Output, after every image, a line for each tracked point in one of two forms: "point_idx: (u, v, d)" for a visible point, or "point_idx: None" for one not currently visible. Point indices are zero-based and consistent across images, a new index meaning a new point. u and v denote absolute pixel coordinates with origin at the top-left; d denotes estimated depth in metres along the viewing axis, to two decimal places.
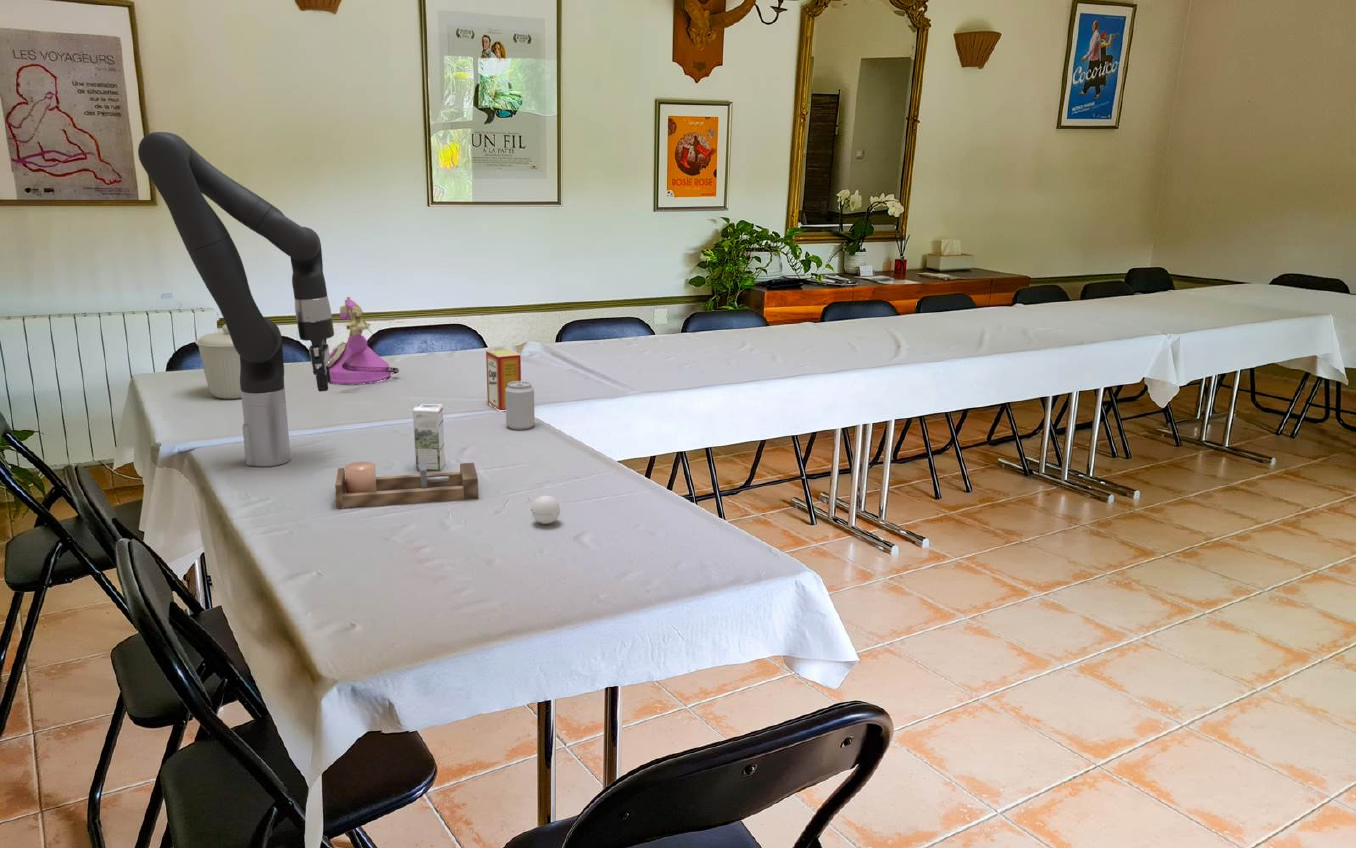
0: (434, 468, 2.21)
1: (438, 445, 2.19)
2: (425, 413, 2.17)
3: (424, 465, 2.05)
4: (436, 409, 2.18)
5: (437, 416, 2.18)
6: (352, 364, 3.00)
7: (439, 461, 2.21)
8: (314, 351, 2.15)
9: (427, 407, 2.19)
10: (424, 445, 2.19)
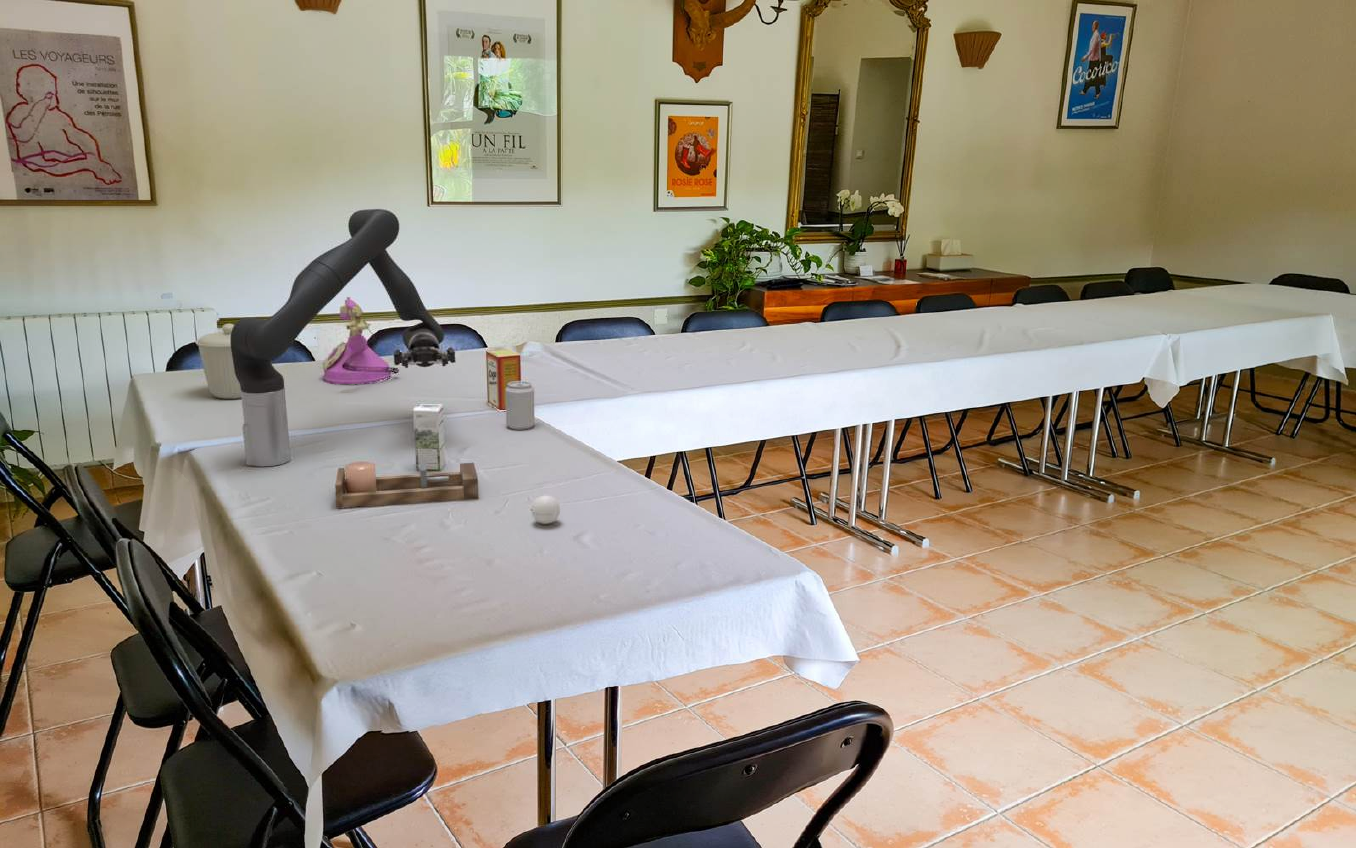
0: (434, 468, 2.21)
1: (438, 445, 2.19)
2: (425, 413, 2.17)
3: (424, 465, 2.05)
4: (436, 409, 2.18)
5: (437, 416, 2.18)
6: (352, 364, 3.00)
7: (439, 461, 2.21)
8: None
9: (427, 407, 2.19)
10: (424, 445, 2.19)
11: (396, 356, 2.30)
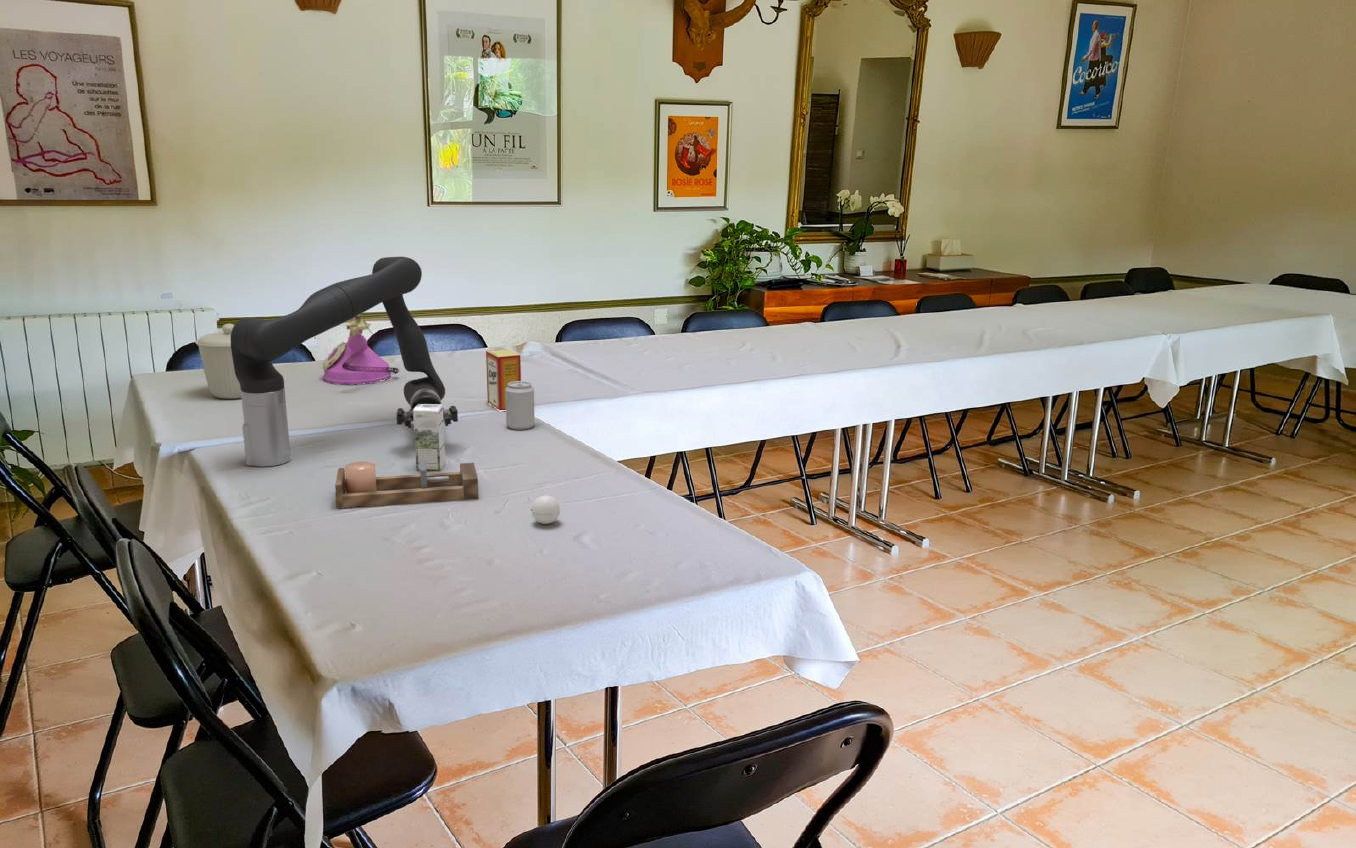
0: (434, 468, 2.21)
1: (438, 445, 2.19)
2: (425, 413, 2.17)
3: (424, 465, 2.05)
4: (436, 409, 2.18)
5: (437, 416, 2.18)
6: (352, 364, 3.00)
7: (439, 461, 2.21)
8: None
9: (427, 407, 2.19)
10: (424, 445, 2.19)
11: (399, 416, 2.30)
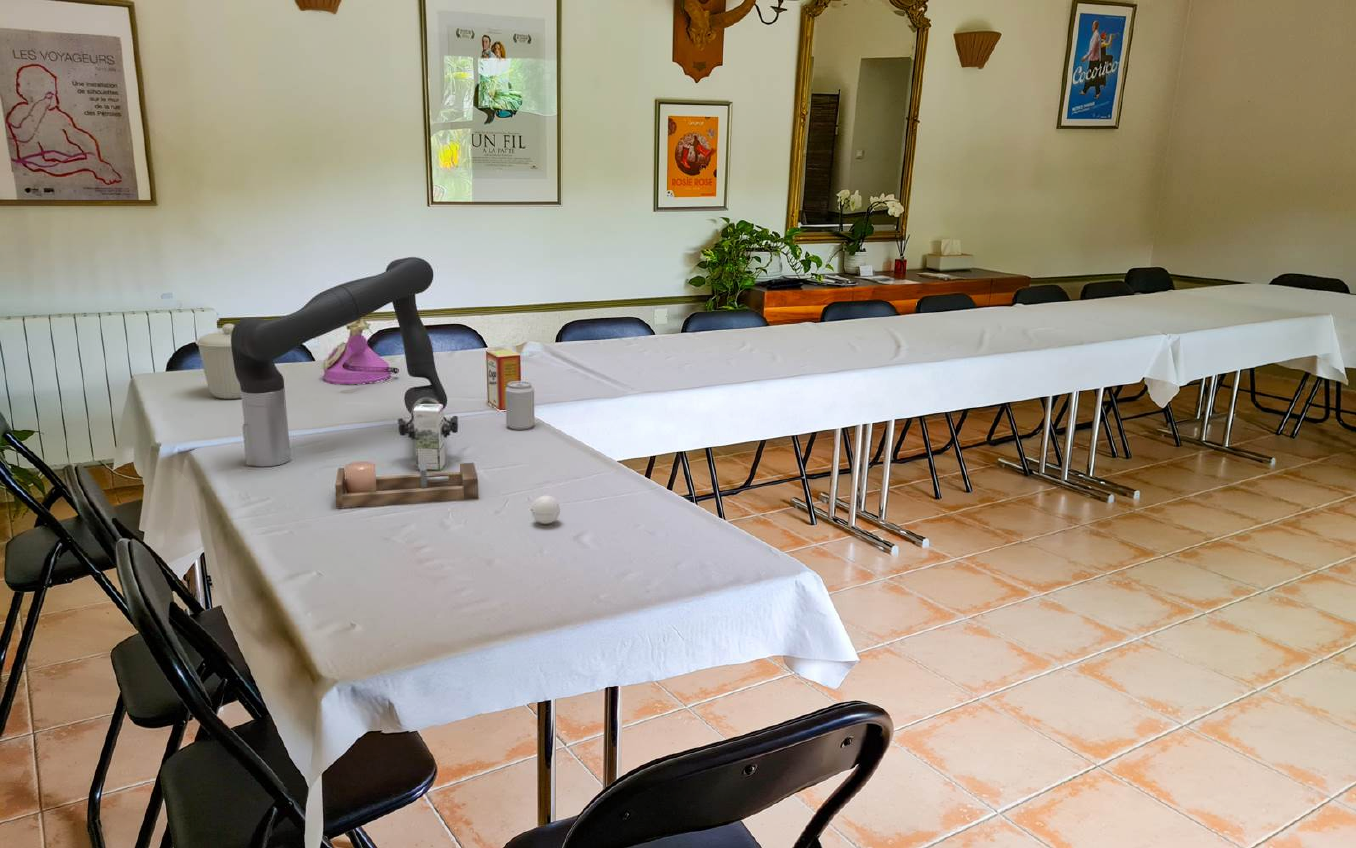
0: (434, 468, 2.21)
1: (438, 445, 2.19)
2: (426, 413, 2.17)
3: (424, 465, 2.05)
4: (436, 409, 2.18)
5: (437, 416, 2.18)
6: (352, 364, 3.00)
7: (439, 461, 2.21)
8: None
9: (427, 407, 2.19)
10: (424, 445, 2.19)
11: (402, 426, 2.22)
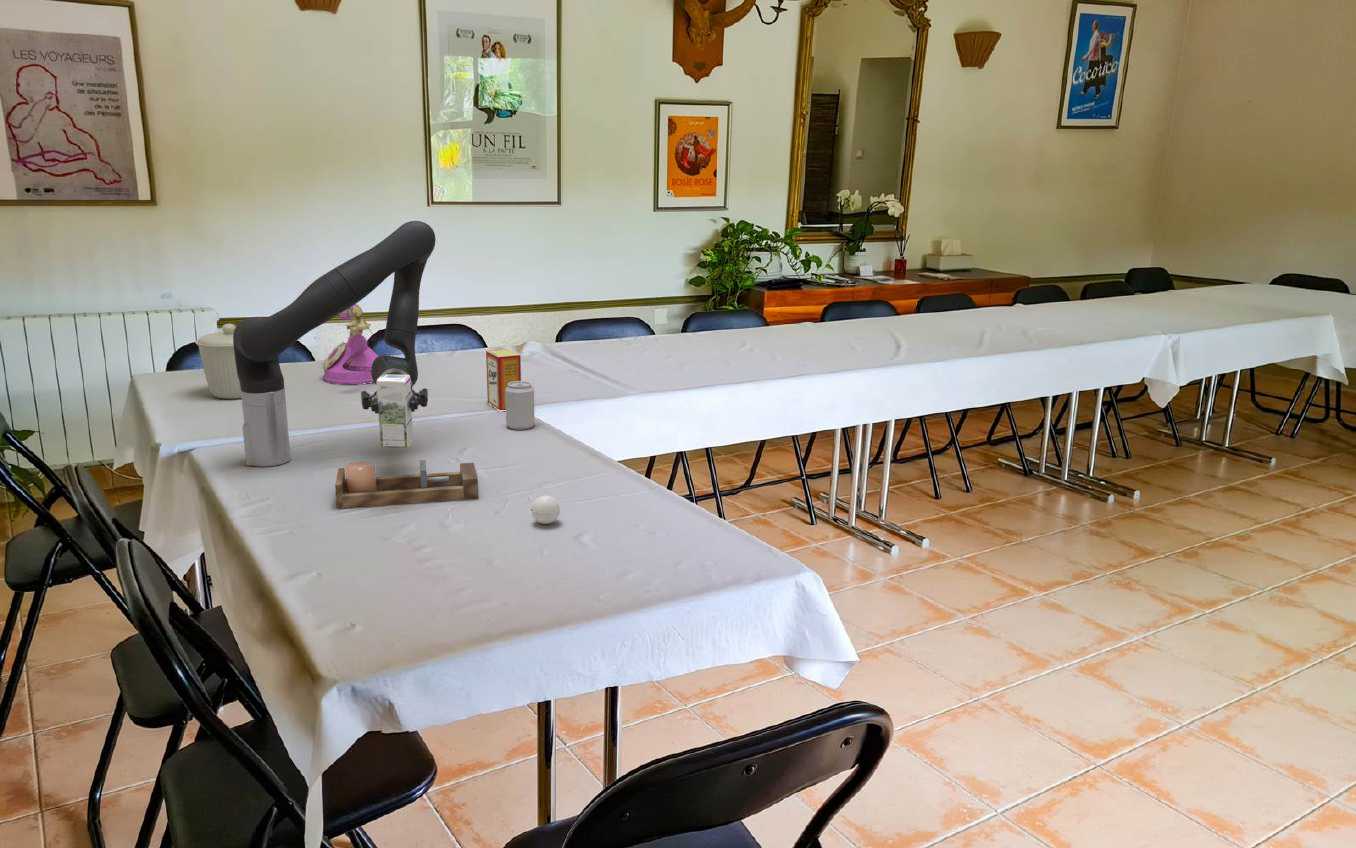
0: (400, 445, 2.00)
1: (405, 420, 1.98)
2: (390, 384, 1.96)
3: (424, 465, 2.05)
4: (402, 380, 1.97)
5: (403, 387, 1.96)
6: (352, 364, 2.99)
7: (406, 437, 1.99)
8: (427, 393, 2.08)
9: (392, 377, 1.98)
10: (389, 419, 1.98)
11: (365, 399, 2.00)
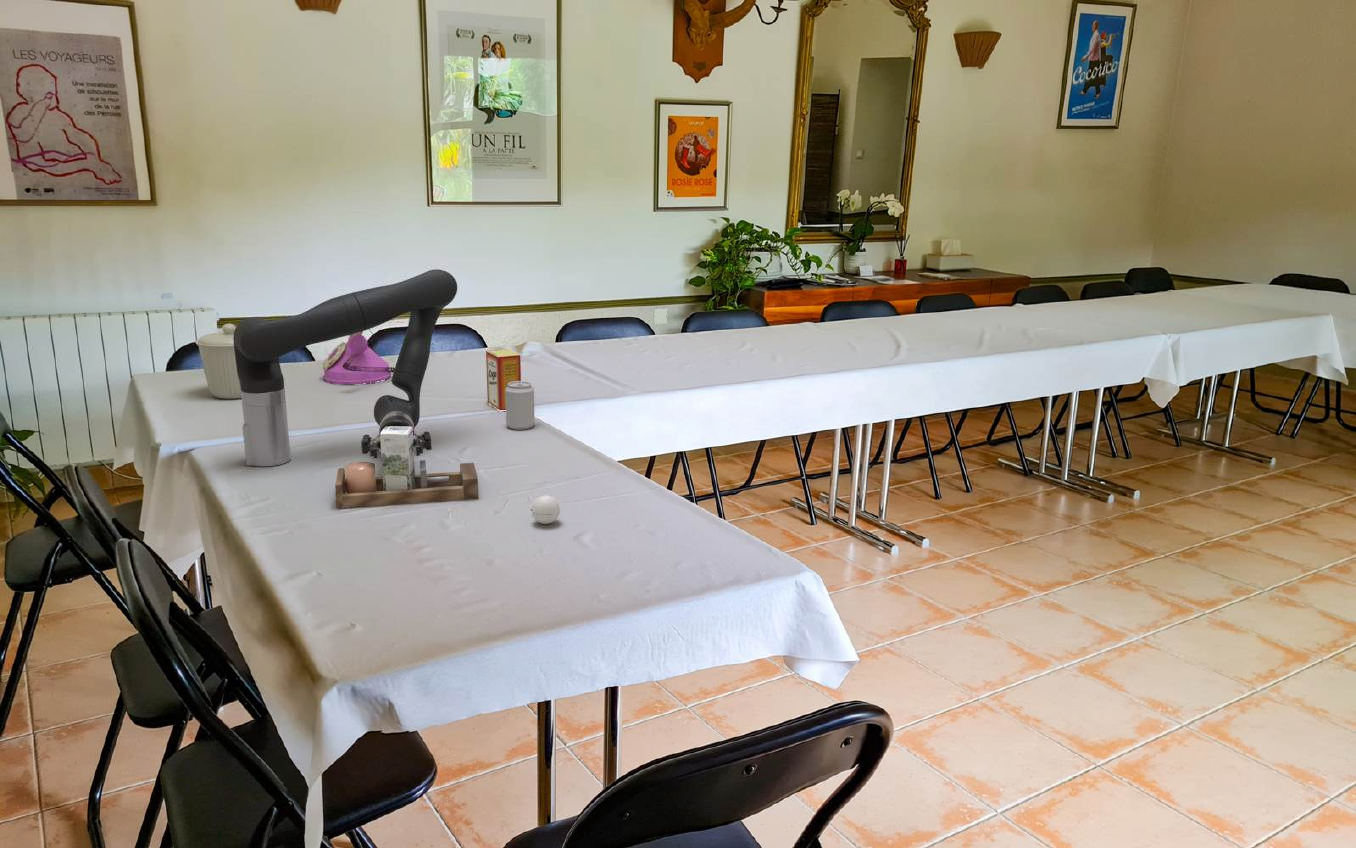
0: None
1: (408, 471, 2.01)
2: (394, 436, 1.99)
3: (424, 465, 2.05)
4: (405, 432, 2.00)
5: (407, 440, 1.99)
6: (352, 364, 2.99)
7: None
8: None
9: (395, 430, 2.01)
10: (392, 471, 2.01)
11: (364, 444, 2.03)
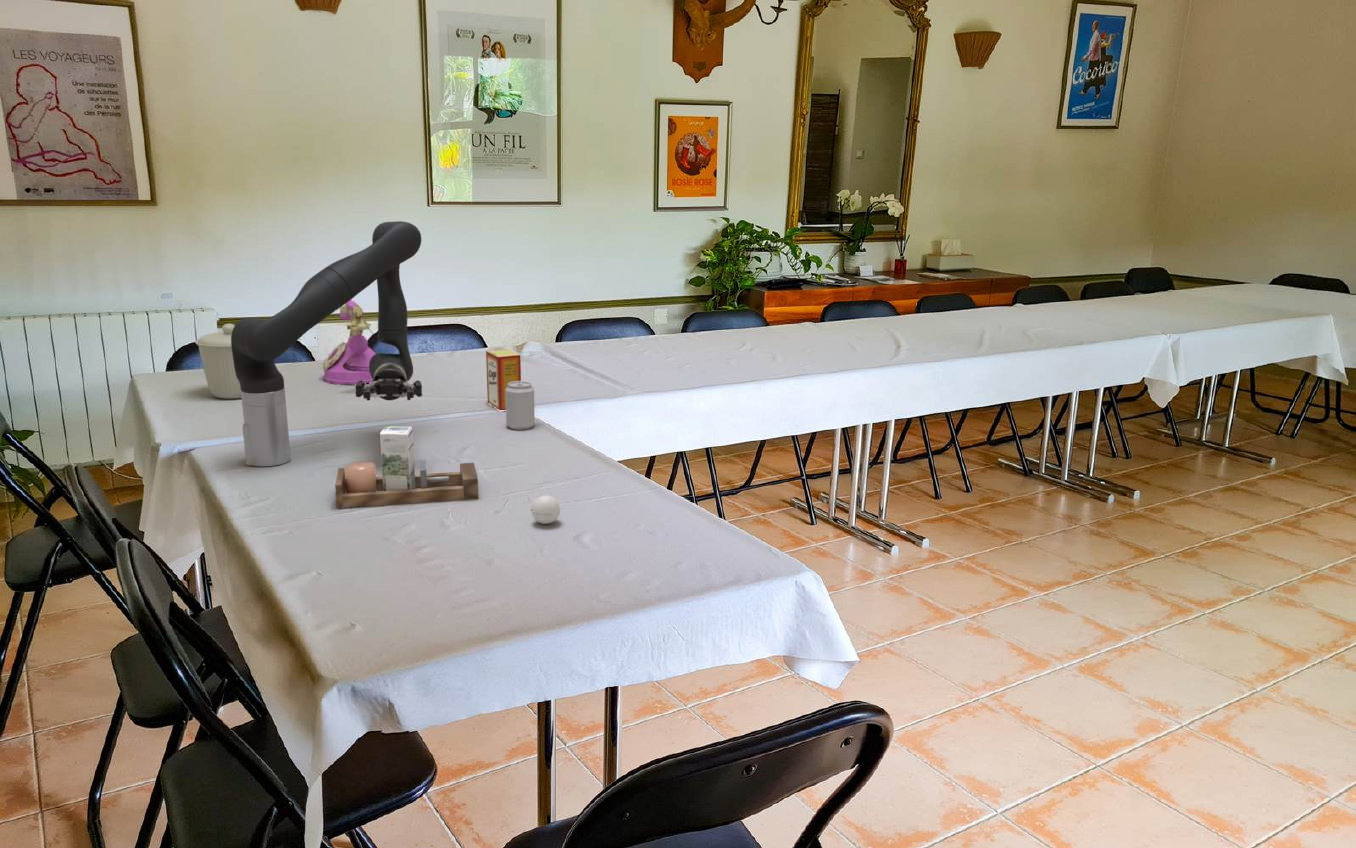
0: None
1: (408, 471, 2.01)
2: (394, 437, 1.99)
3: (424, 465, 2.05)
4: (405, 432, 2.00)
5: (406, 440, 1.99)
6: (352, 364, 2.99)
7: None
8: None
9: (395, 430, 2.01)
10: (392, 471, 2.01)
11: (358, 387, 2.15)
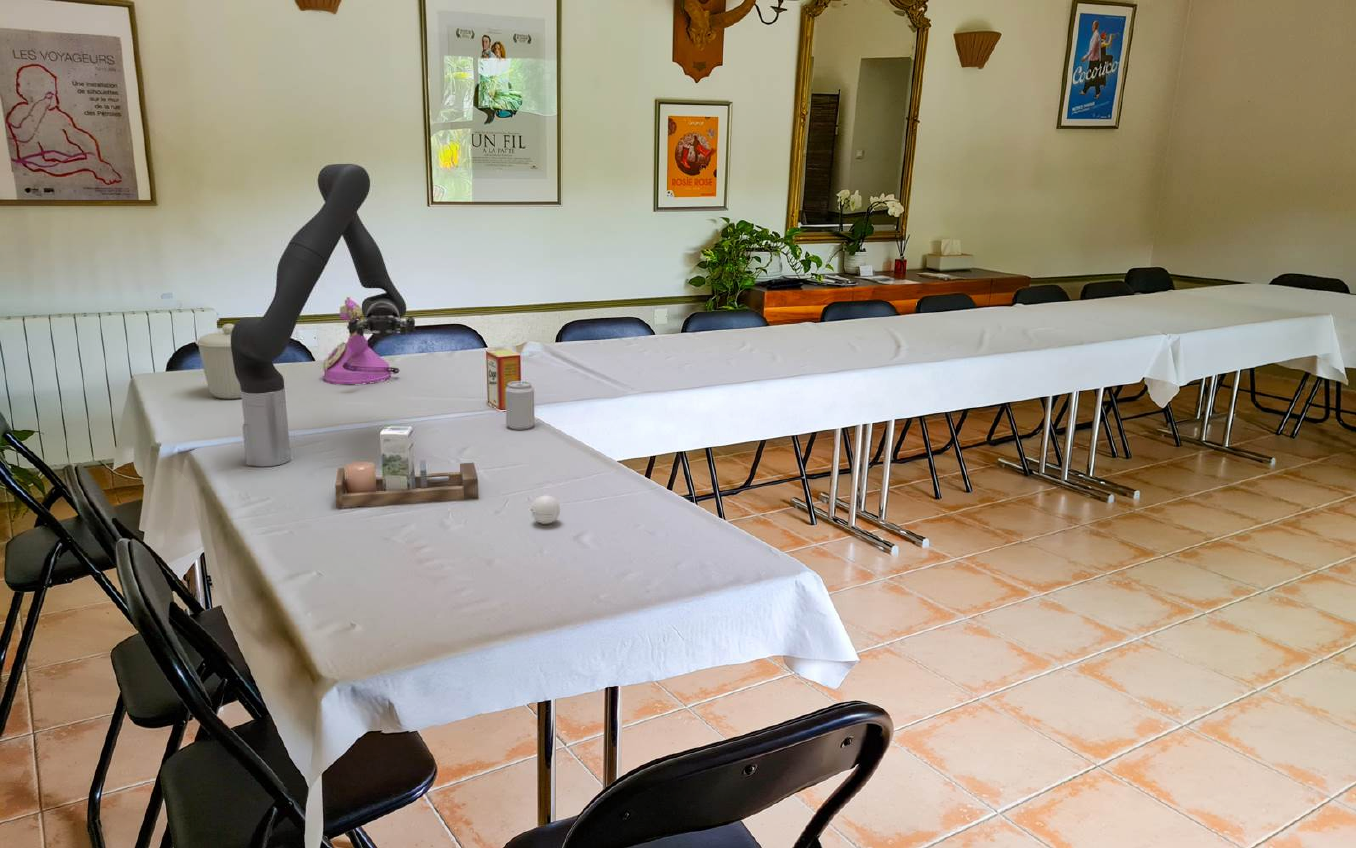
0: None
1: (408, 471, 2.01)
2: (394, 437, 1.99)
3: (424, 465, 2.05)
4: (405, 432, 2.00)
5: (406, 440, 1.99)
6: (352, 364, 2.99)
7: None
8: None
9: (395, 430, 2.01)
10: (392, 471, 2.01)
11: (351, 324, 2.15)
